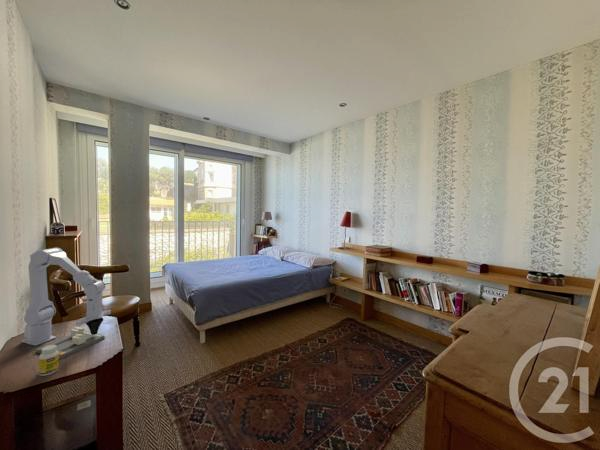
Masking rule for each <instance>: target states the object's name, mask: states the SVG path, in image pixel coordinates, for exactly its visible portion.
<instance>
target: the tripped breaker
mask: <svg viewBox="0 0 600 450" xmlns="http://www.w3.org/2000/svg"><path fill="white" fill-rule="evenodd" d="M84 342H86V335H82V334H76V335H75V336H73V337H72V344H76V345H80V344H82V343H84Z"/></svg>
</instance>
